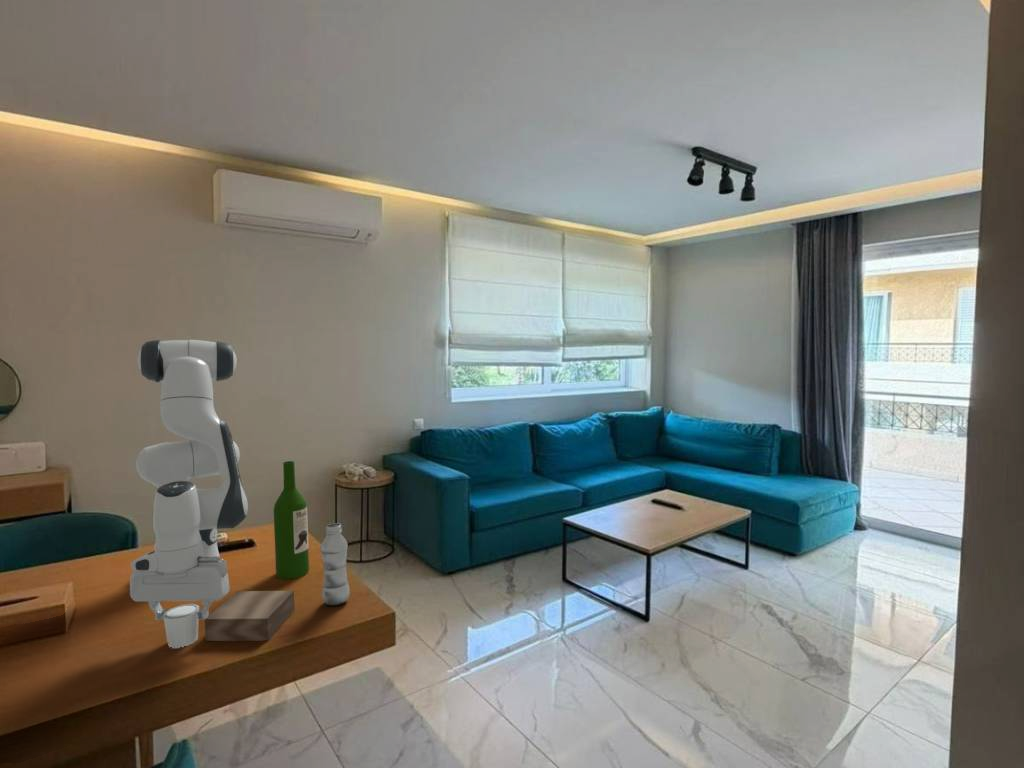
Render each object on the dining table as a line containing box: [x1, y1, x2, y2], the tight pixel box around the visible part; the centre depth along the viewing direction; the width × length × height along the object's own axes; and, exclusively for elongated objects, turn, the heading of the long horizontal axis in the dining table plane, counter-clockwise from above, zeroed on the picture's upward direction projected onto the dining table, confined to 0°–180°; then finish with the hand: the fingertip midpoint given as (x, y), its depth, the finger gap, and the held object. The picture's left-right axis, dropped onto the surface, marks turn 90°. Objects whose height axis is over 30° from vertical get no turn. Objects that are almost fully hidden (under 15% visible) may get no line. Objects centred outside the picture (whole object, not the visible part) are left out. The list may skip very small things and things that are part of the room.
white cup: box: [163, 603, 200, 649], centre depth 119 cm, size 7×7×7 cm
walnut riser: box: [204, 590, 295, 642], centre depth 126 cm, size 14×14×5 cm
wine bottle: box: [273, 460, 310, 580], centre depth 155 cm, size 9×9×32 cm
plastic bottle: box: [320, 522, 350, 606], centre depth 136 cm, size 6×7×20 cm
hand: (182, 618), depth 119 cm, fingers open, 8 cm apart
